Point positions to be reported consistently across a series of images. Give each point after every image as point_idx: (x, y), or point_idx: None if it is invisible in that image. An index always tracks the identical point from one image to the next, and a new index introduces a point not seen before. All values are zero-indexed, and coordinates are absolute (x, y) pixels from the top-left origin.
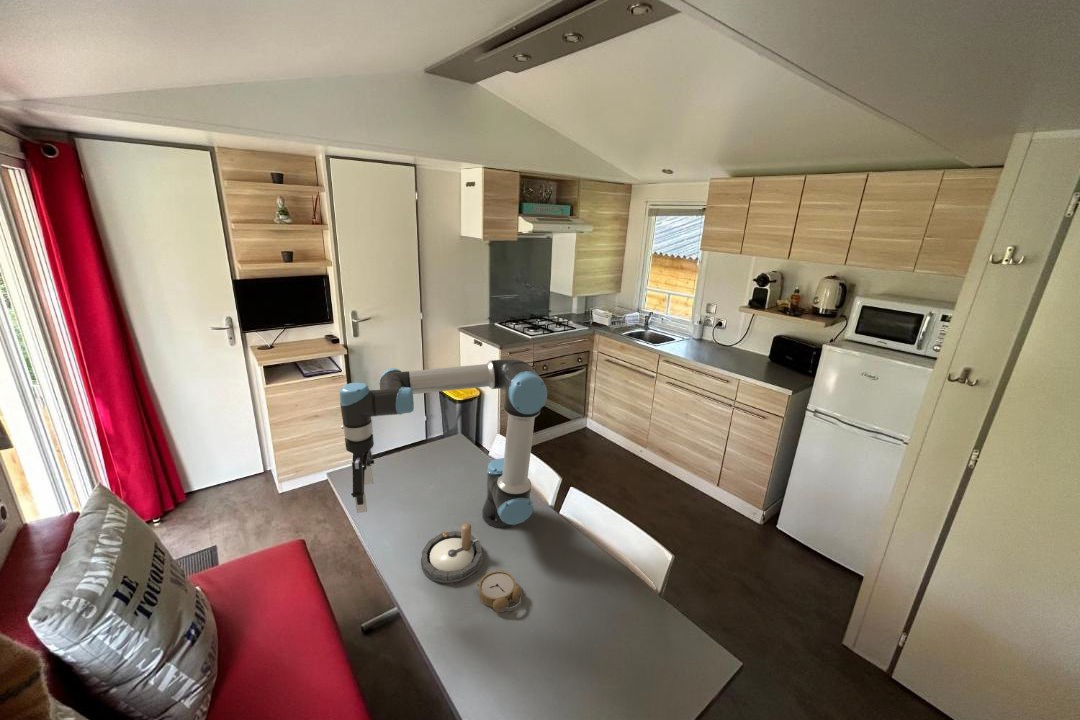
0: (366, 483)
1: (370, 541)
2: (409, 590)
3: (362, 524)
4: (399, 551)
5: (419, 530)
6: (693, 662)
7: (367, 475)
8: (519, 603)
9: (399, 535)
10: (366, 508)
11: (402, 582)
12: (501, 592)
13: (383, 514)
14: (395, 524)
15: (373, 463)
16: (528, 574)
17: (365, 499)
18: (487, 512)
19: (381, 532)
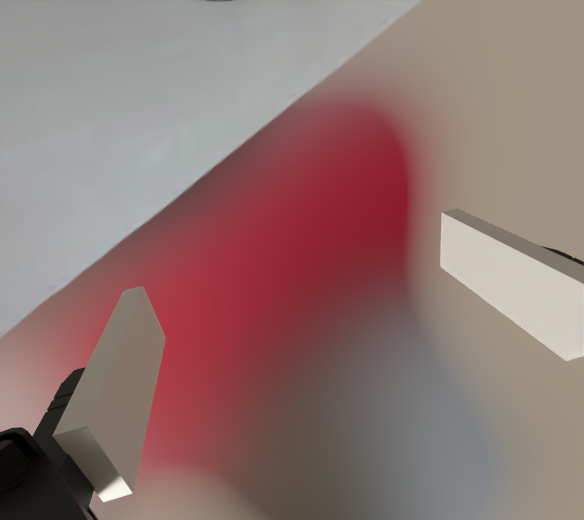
0: (158, 329)
1: (160, 207)
2: (341, 21)
3: (92, 258)
4: (188, 99)
5: (66, 44)
6: None
7: (139, 369)
8: None
9: (113, 120)
10: (473, 216)
11: (311, 53)
12: None
13: (21, 211)
14: (60, 152)
15: (25, 436)
16: None
17: (539, 246)
18: None
19: (113, 188)
